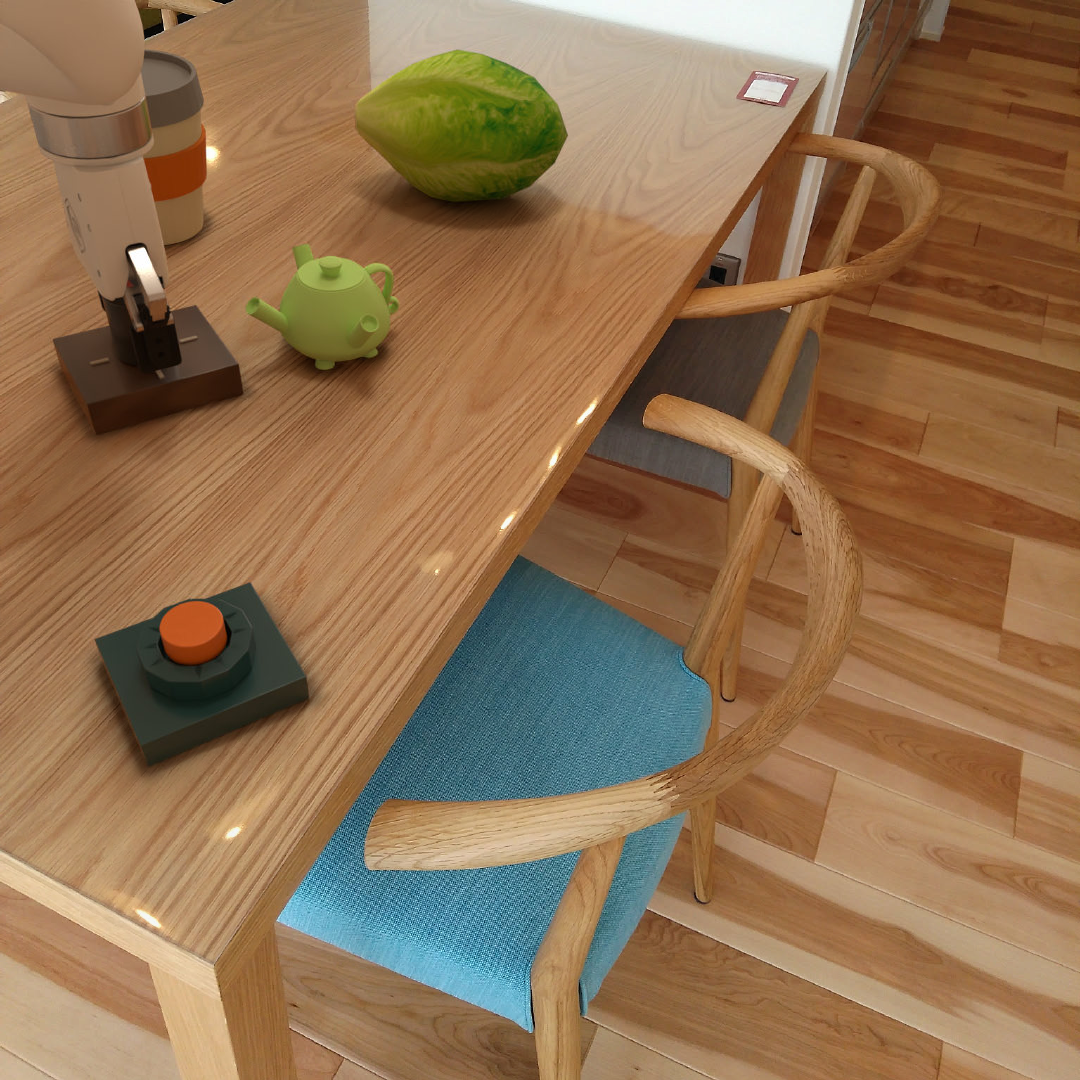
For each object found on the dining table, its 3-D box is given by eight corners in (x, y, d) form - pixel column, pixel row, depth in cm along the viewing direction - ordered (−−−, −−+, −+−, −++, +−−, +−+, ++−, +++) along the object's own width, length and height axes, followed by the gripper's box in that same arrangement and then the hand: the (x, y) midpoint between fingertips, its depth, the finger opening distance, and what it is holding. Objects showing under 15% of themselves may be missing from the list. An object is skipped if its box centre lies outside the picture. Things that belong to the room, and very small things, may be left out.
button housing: (148, 767, 59) (134, 727, 56) (102, 661, 64) (87, 619, 61) (309, 698, 63) (304, 657, 60) (254, 604, 68) (247, 562, 66)
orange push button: (176, 674, 59) (171, 655, 58) (156, 633, 61) (150, 614, 60) (236, 651, 61) (232, 632, 60) (214, 612, 63) (210, 592, 62)
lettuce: (351, 214, 106) (363, 168, 119) (567, 224, 108) (556, 178, 121) (344, 63, 98) (358, 31, 110) (579, 77, 100) (567, 44, 112)
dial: (182, 356, 83) (169, 293, 79) (128, 372, 81) (112, 308, 77) (160, 330, 85) (147, 267, 81) (108, 345, 83) (91, 281, 79)
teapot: (417, 325, 94) (416, 241, 88) (376, 395, 86) (372, 308, 80) (302, 303, 95) (293, 218, 89) (250, 370, 87) (237, 282, 81)
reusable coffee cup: (180, 265, 98) (150, 109, 88) (65, 238, 100) (24, 82, 90) (244, 210, 107) (224, 62, 97) (138, 186, 109) (107, 39, 99)
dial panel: (95, 435, 80) (86, 402, 77) (61, 369, 85) (51, 336, 83) (243, 393, 85) (238, 362, 83) (201, 334, 90) (196, 302, 88)
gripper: (4, 85, 73) (63, 295, 85) (70, 185, 63) (127, 407, 75) (110, 72, 77) (153, 276, 89) (189, 164, 67) (226, 380, 79)
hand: (141, 336), depth 82 cm, fingers open, 9 cm apart
